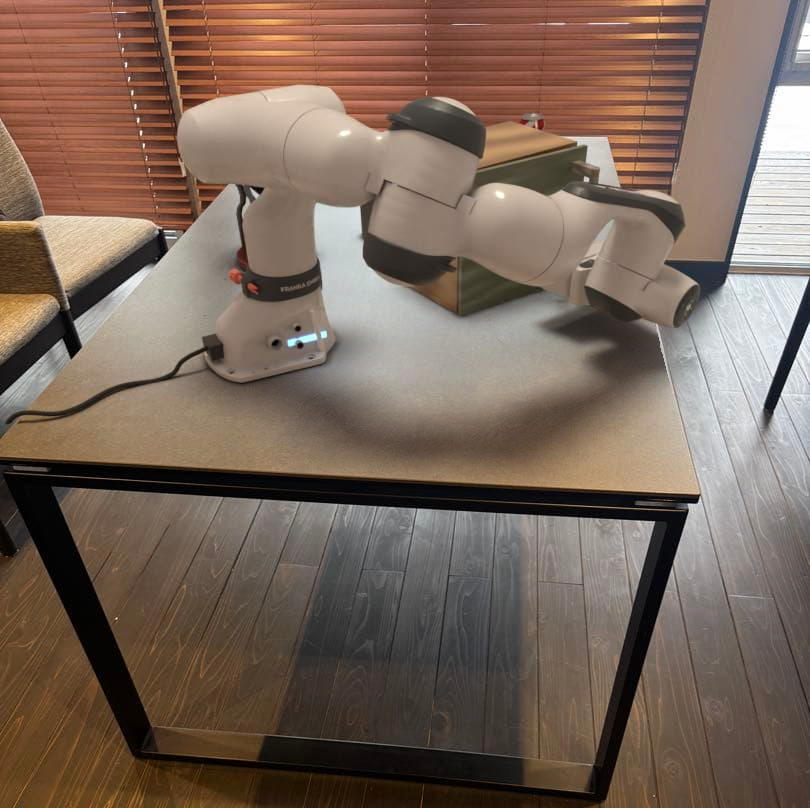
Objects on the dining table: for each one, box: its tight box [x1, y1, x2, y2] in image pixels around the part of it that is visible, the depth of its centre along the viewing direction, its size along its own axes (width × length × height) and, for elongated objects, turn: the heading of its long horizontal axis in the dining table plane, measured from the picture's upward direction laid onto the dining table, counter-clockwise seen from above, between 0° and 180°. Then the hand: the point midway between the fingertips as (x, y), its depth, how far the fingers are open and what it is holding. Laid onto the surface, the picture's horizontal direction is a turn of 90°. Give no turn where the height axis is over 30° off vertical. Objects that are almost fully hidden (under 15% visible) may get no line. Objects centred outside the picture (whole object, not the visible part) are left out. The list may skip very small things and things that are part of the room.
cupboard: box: [399, 120, 578, 315], centre depth 147 cm, size 18×26×24 cm
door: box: [457, 144, 601, 317], centre depth 138 cm, size 7×26×24 cm, turn 122°
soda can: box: [518, 112, 547, 132], centre depth 201 cm, size 7×7×12 cm
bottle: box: [359, 195, 376, 240], centre depth 168 cm, size 6×6×15 cm
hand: (557, 249), depth 142 cm, fingers closed
